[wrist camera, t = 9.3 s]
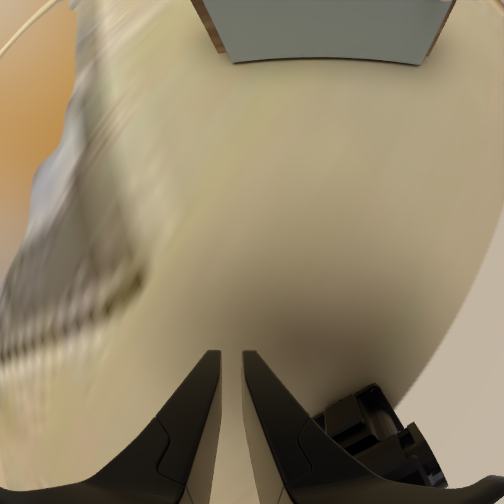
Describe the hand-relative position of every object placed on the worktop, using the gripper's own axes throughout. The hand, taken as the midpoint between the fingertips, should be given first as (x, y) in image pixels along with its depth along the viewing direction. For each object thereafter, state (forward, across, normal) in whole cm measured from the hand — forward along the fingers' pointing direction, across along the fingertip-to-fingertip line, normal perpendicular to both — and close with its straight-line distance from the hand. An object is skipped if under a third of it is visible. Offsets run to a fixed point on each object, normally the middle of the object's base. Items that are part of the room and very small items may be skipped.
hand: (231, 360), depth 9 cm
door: (+18, -8, -15) cm, 25 cm away
